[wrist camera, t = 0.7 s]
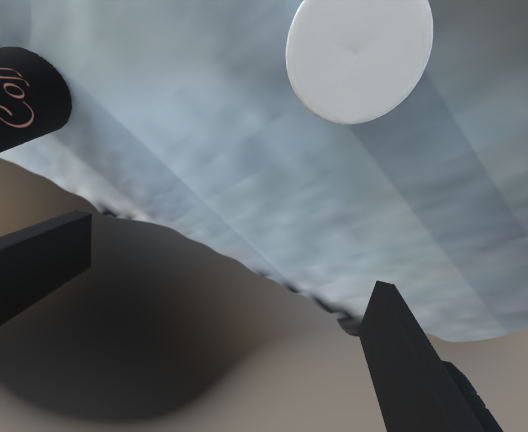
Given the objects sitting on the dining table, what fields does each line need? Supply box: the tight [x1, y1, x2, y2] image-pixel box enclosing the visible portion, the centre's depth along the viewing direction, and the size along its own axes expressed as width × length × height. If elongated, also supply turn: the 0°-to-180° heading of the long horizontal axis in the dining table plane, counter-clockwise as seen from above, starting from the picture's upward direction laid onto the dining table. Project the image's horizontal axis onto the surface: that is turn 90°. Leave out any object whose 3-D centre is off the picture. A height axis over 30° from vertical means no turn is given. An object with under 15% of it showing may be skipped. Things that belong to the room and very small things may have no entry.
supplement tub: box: [286, 0, 433, 124], centre depth 25 cm, size 10×10×15 cm
